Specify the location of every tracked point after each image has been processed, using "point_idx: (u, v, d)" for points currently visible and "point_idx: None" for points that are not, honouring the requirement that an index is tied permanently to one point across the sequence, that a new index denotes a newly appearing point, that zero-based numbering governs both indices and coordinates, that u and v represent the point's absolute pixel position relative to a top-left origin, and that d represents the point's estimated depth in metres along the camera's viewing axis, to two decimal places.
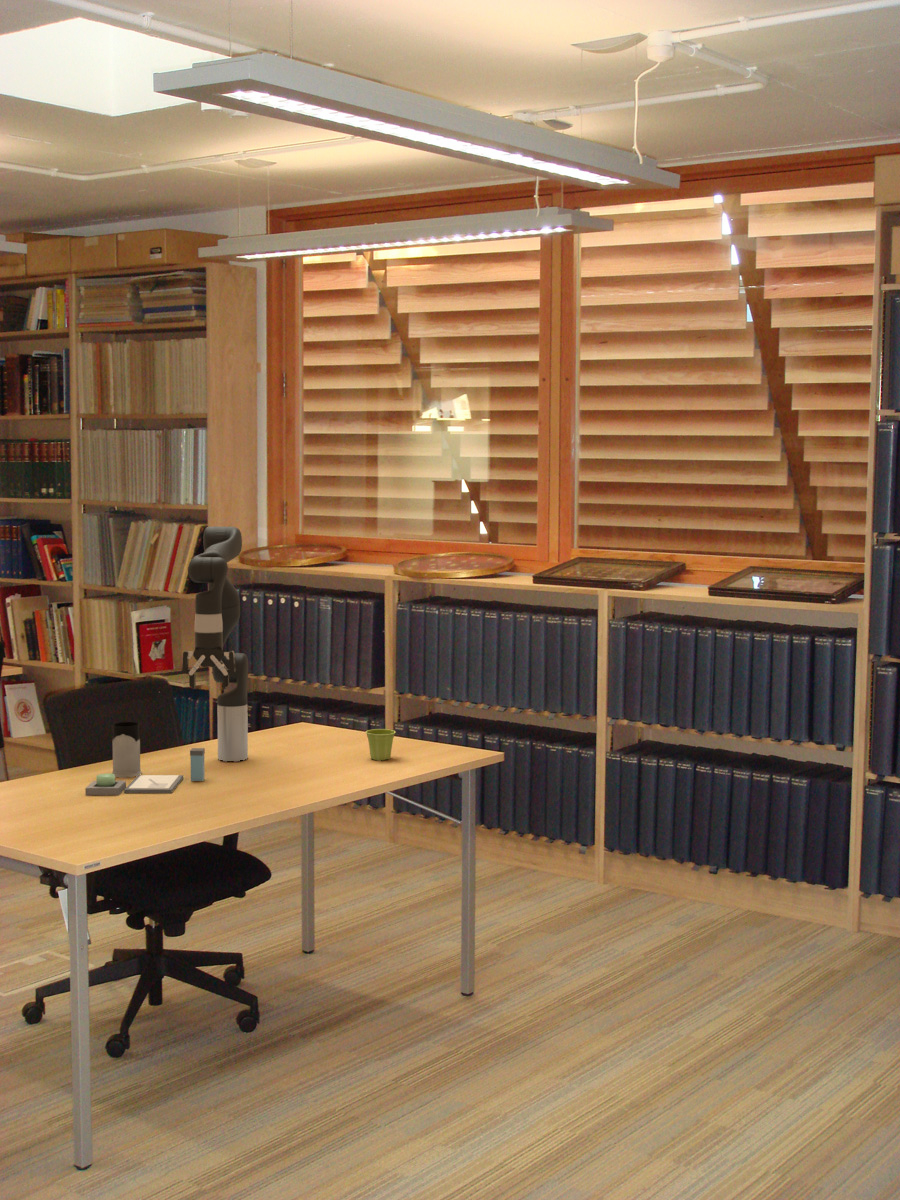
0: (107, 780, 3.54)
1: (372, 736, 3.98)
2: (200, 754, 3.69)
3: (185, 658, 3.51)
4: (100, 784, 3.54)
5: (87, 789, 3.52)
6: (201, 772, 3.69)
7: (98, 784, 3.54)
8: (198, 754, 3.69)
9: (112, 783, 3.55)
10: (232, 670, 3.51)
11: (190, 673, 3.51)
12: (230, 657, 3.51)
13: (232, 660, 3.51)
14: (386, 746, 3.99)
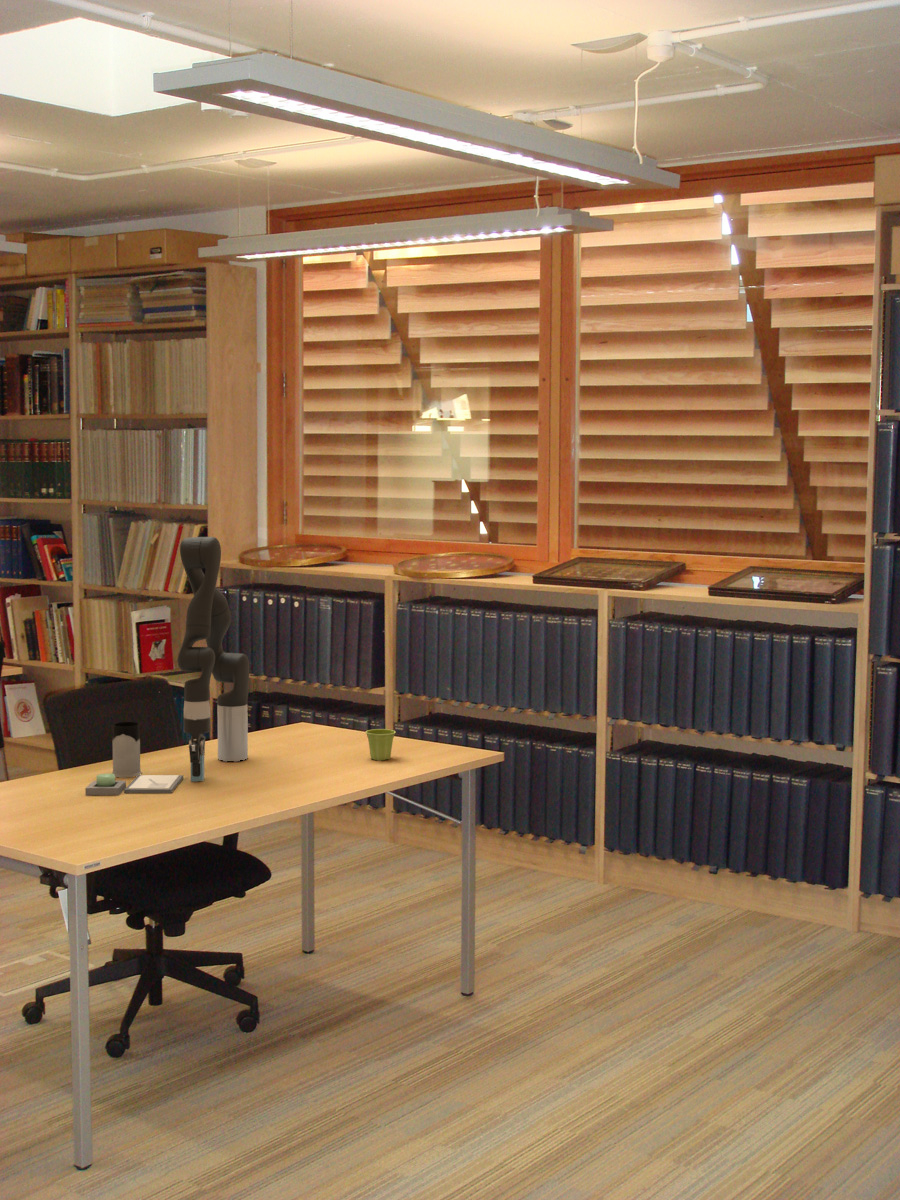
0: (107, 780, 3.54)
1: (372, 736, 3.98)
2: None
3: (198, 750, 3.65)
4: (100, 784, 3.54)
5: (87, 789, 3.52)
6: (201, 772, 3.69)
7: (98, 784, 3.54)
8: None
9: (112, 783, 3.55)
10: None
11: (200, 761, 3.68)
12: None
13: (204, 744, 3.76)
14: (386, 746, 3.99)
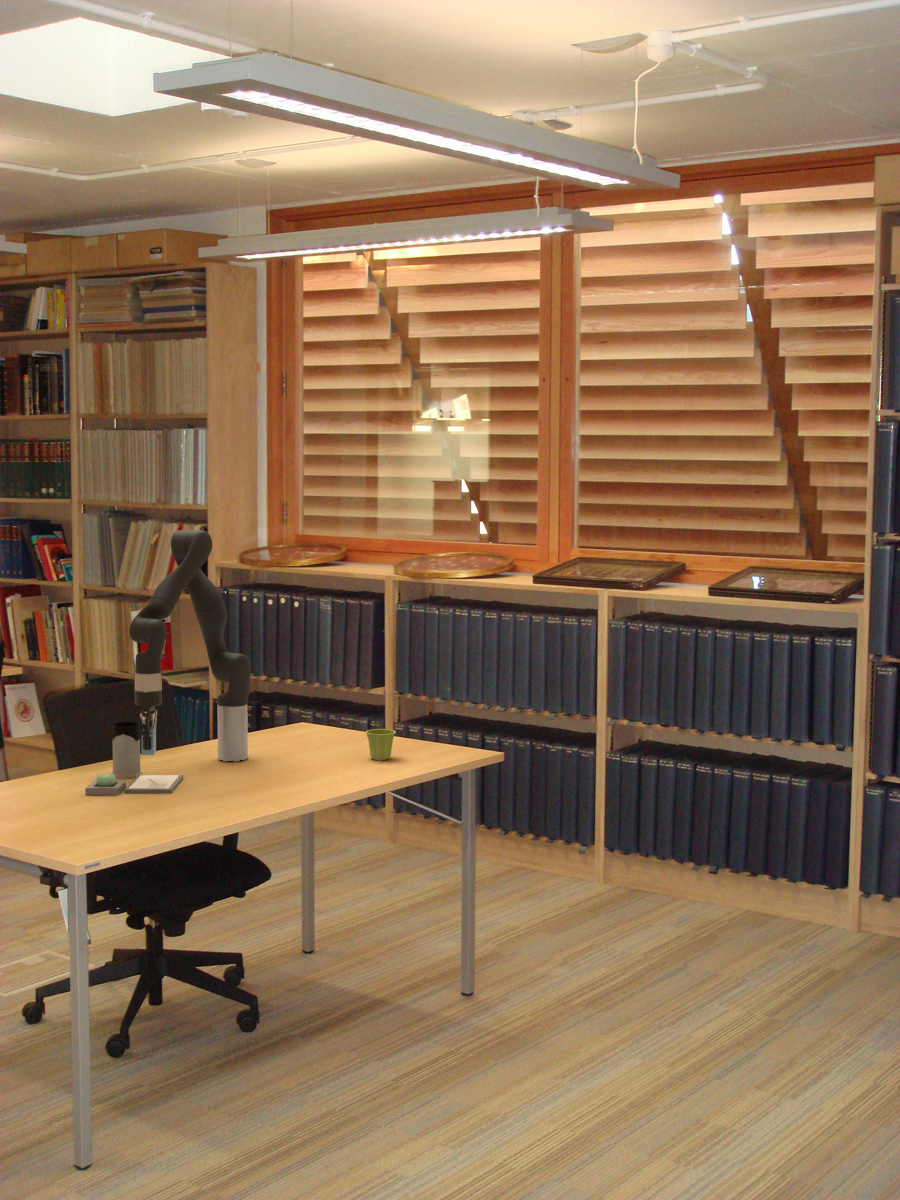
0: (107, 780, 3.54)
1: (372, 736, 3.98)
2: None
3: (148, 722, 3.60)
4: (100, 784, 3.54)
5: (87, 789, 3.52)
6: (152, 745, 3.64)
7: (98, 784, 3.54)
8: None
9: (112, 783, 3.55)
10: (156, 727, 3.70)
11: (151, 734, 3.63)
12: (156, 715, 3.71)
13: (156, 718, 3.71)
14: (386, 746, 3.99)
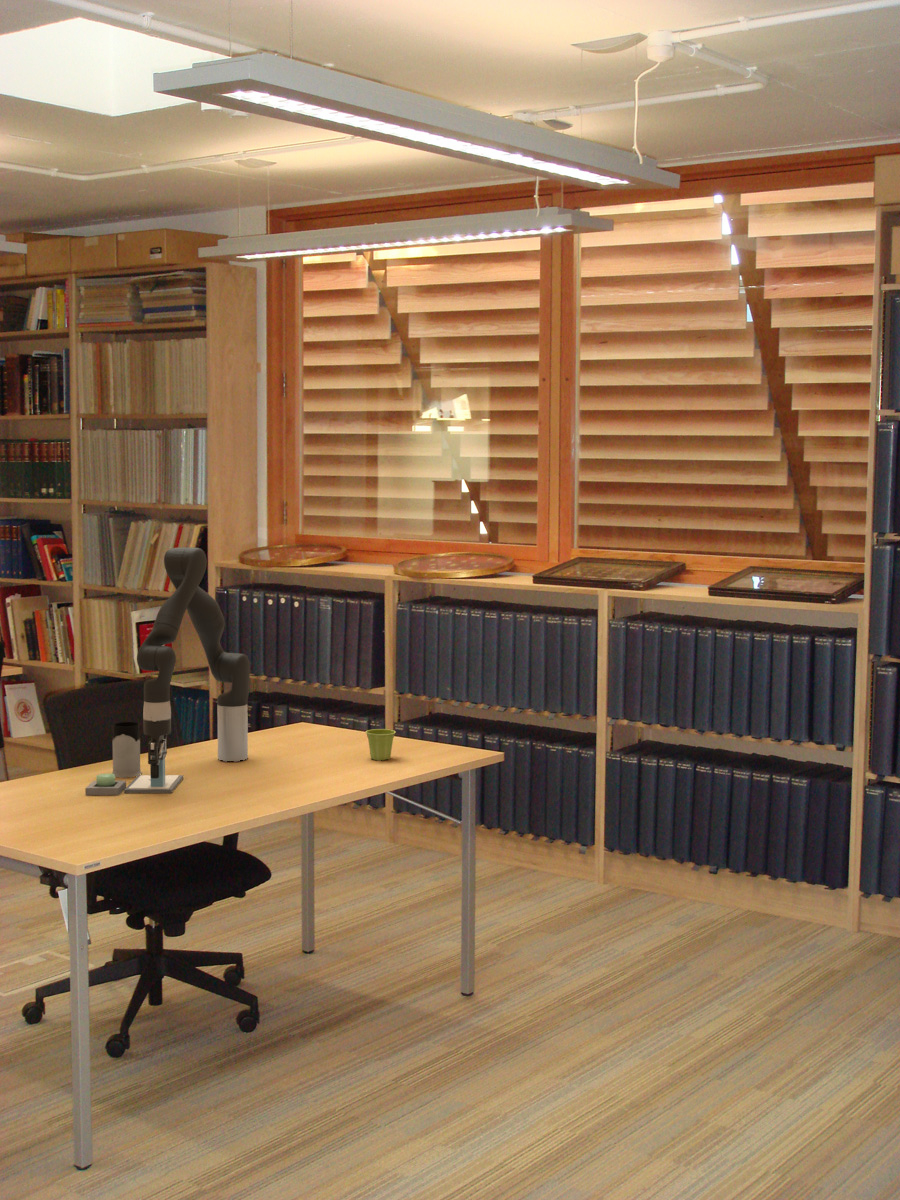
0: (107, 780, 3.54)
1: (372, 736, 3.98)
2: (160, 758, 3.56)
3: (157, 749, 3.52)
4: (100, 784, 3.54)
5: (87, 789, 3.52)
6: (161, 777, 3.57)
7: (98, 784, 3.54)
8: None
9: (112, 783, 3.55)
10: (166, 751, 3.64)
11: (158, 763, 3.54)
12: (166, 739, 3.64)
13: (166, 742, 3.64)
14: (386, 746, 3.99)
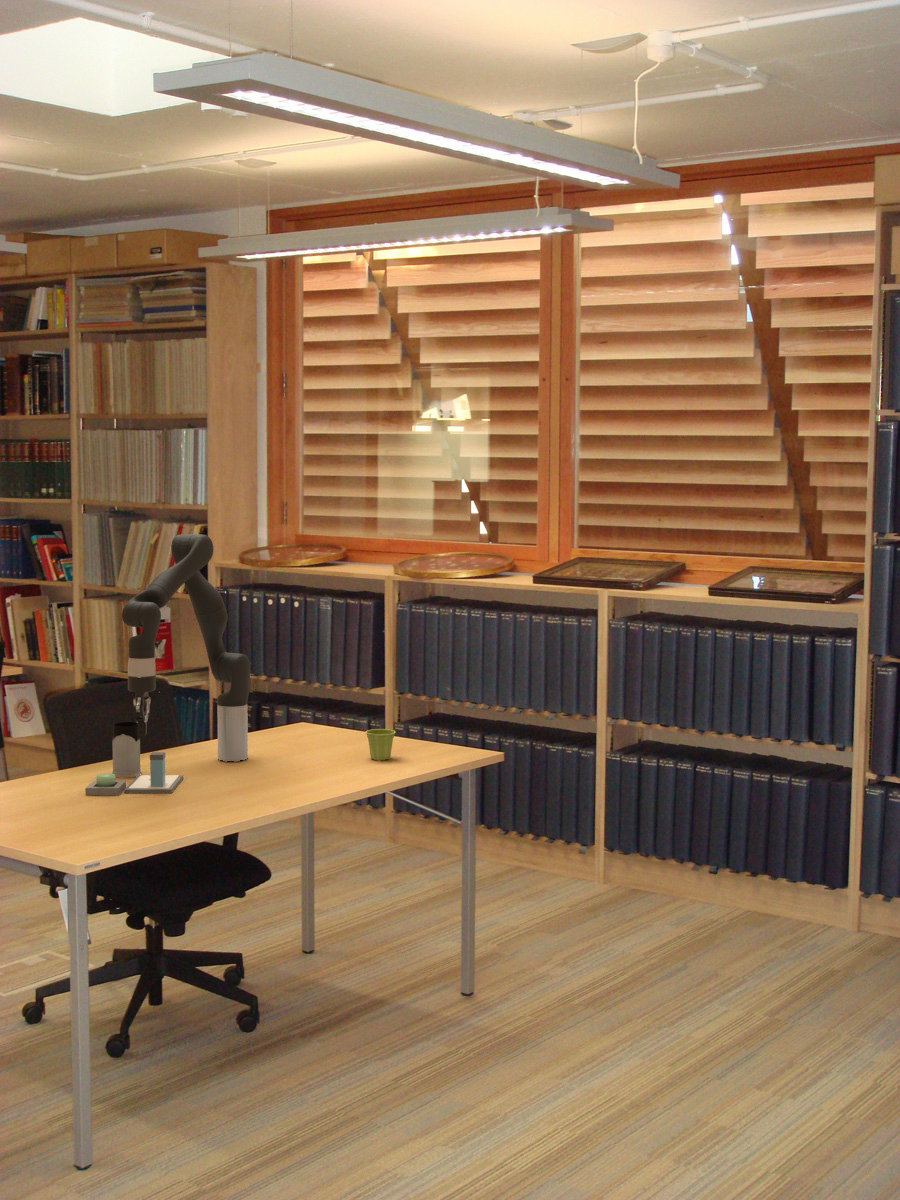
0: (107, 780, 3.54)
1: (372, 736, 3.98)
2: (160, 758, 3.56)
3: (143, 710, 3.51)
4: (100, 784, 3.54)
5: (87, 789, 3.52)
6: (161, 777, 3.57)
7: (98, 784, 3.54)
8: (158, 758, 3.56)
9: (112, 783, 3.55)
10: (148, 715, 3.58)
11: (145, 720, 3.55)
12: (149, 704, 3.60)
13: (149, 707, 3.60)
14: (386, 746, 3.99)
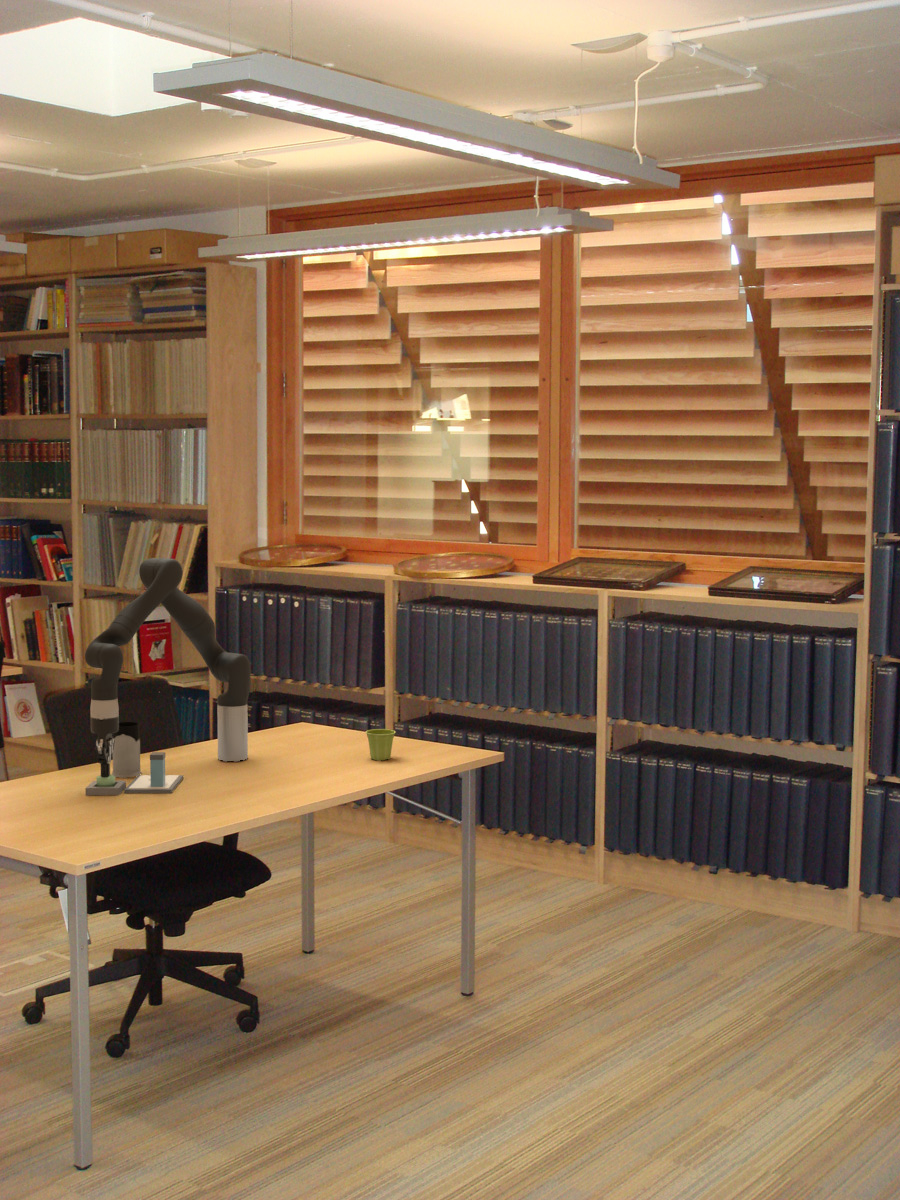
0: (107, 781, 3.54)
1: (372, 736, 3.98)
2: (160, 758, 3.56)
3: (105, 752, 3.51)
4: (100, 785, 3.54)
5: (87, 789, 3.52)
6: (161, 777, 3.57)
7: (98, 785, 3.54)
8: (158, 758, 3.56)
9: (112, 784, 3.55)
10: (112, 756, 3.58)
11: (108, 761, 3.55)
12: (113, 744, 3.60)
13: (113, 748, 3.60)
14: (386, 746, 3.99)
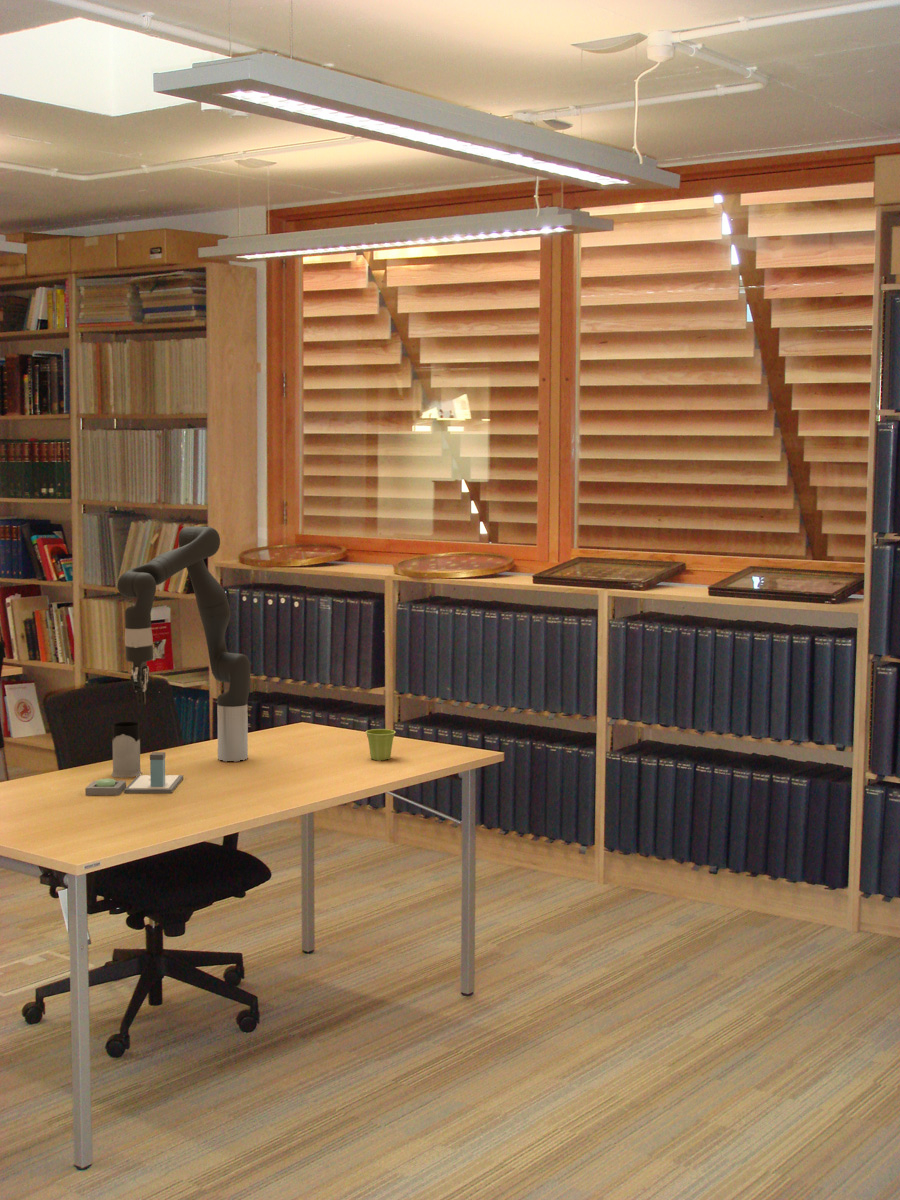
0: (107, 785, 3.54)
1: (372, 736, 3.98)
2: (160, 758, 3.56)
3: (140, 680, 3.54)
4: None
5: (87, 789, 3.52)
6: (161, 777, 3.57)
7: None
8: (158, 758, 3.56)
9: None
10: (147, 684, 3.62)
11: (144, 689, 3.58)
12: (148, 673, 3.64)
13: (148, 676, 3.64)
14: (386, 746, 3.99)
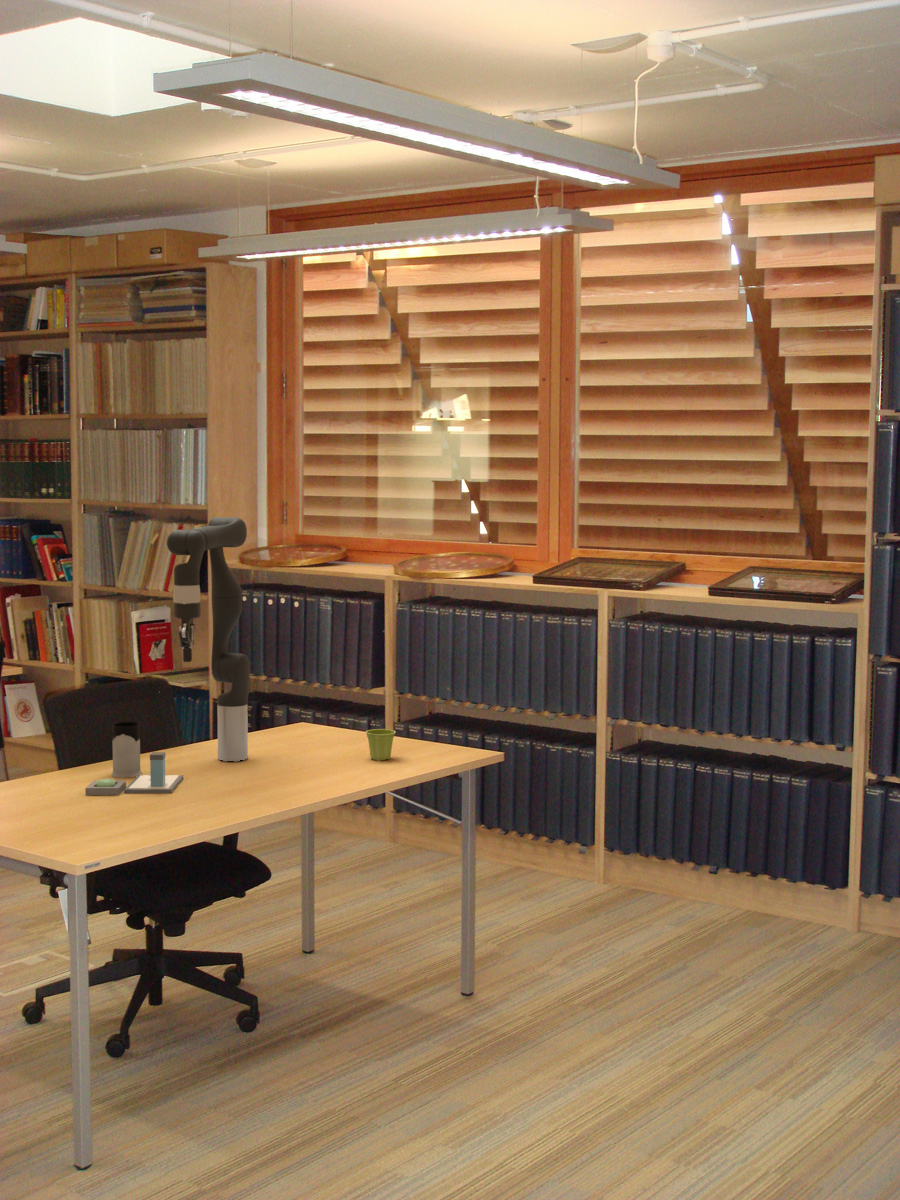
0: (107, 785, 3.54)
1: (372, 736, 3.98)
2: (160, 758, 3.56)
3: (188, 636, 3.60)
4: None
5: (87, 789, 3.52)
6: (161, 777, 3.57)
7: None
8: (158, 758, 3.56)
9: None
10: (193, 642, 3.67)
11: (191, 646, 3.64)
12: (194, 631, 3.69)
13: (194, 634, 3.69)
14: (386, 746, 3.99)
